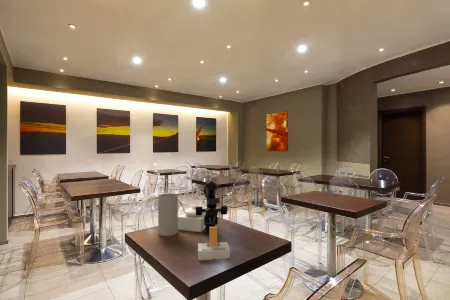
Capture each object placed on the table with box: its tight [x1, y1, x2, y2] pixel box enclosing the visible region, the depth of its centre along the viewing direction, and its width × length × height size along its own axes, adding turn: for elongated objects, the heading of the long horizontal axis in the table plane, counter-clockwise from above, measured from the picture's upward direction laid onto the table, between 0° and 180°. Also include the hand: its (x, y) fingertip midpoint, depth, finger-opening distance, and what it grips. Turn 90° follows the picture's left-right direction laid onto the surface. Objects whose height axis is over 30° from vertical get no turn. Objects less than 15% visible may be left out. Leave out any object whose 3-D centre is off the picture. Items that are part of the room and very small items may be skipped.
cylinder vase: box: [157, 192, 179, 237], centre depth 156 cm, size 12×12×25 cm
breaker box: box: [197, 241, 231, 261], centre depth 125 cm, size 10×16×6 cm, turn 96°
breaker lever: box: [208, 226, 218, 245], centre depth 126 cm, size 2×4×9 cm, turn 97°
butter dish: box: [178, 204, 206, 233], centre depth 170 cm, size 18×18×16 cm
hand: (212, 223), depth 135 cm, fingers closed
